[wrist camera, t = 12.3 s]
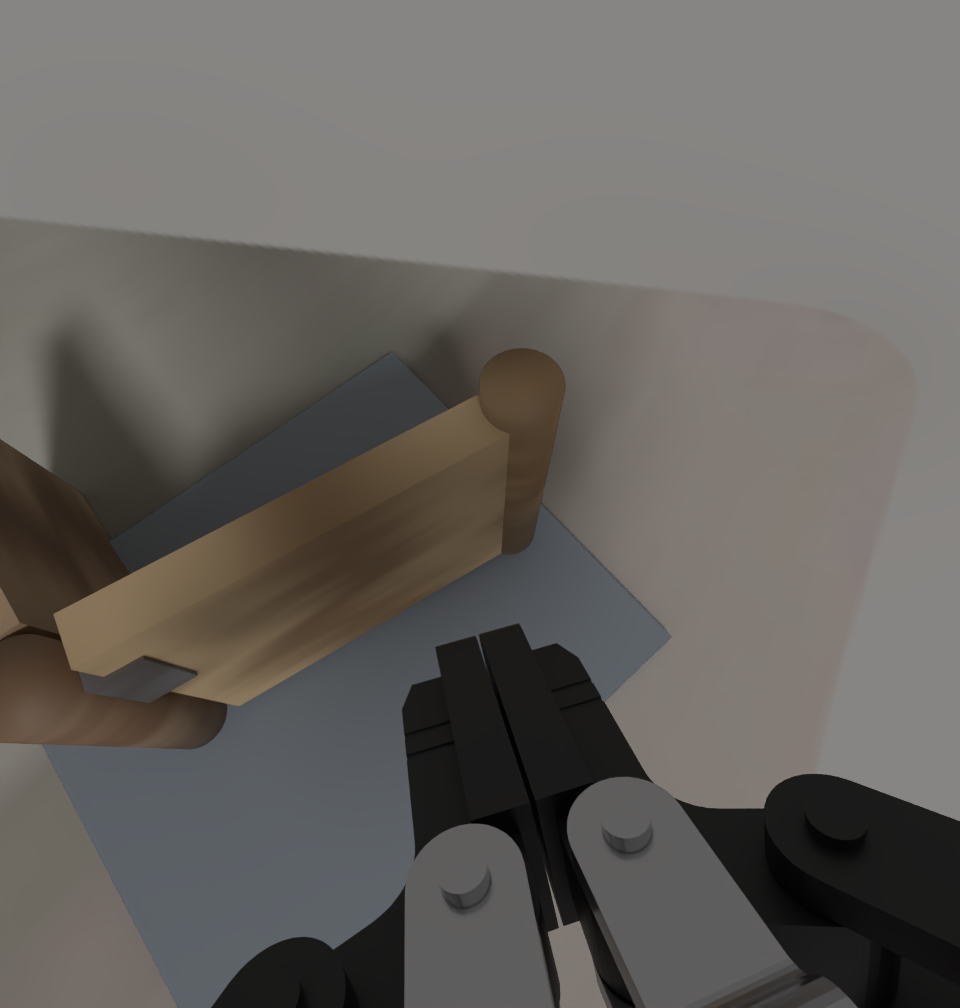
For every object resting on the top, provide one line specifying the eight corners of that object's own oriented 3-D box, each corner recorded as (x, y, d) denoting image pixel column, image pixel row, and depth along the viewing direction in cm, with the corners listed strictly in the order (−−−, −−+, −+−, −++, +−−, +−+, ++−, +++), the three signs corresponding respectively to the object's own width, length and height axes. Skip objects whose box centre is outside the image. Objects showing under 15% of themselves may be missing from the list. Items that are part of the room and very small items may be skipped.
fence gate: (230, 722, 18) (30, 693, 10) (209, 670, 19) (3, 604, 11) (544, 537, 20) (582, 395, 12) (516, 496, 21) (534, 335, 13)
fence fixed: (39, 518, 21) (-194, 392, 14) (90, 485, 22) (-110, 347, 15) (186, 763, 18) (-17, 766, 11) (243, 719, 19) (84, 692, 11)
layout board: (-12, 629, 20) (-20, 627, 20) (393, 356, 24) (391, 350, 24) (219, 1072, 15) (214, 1079, 15) (669, 638, 20) (672, 636, 19)
